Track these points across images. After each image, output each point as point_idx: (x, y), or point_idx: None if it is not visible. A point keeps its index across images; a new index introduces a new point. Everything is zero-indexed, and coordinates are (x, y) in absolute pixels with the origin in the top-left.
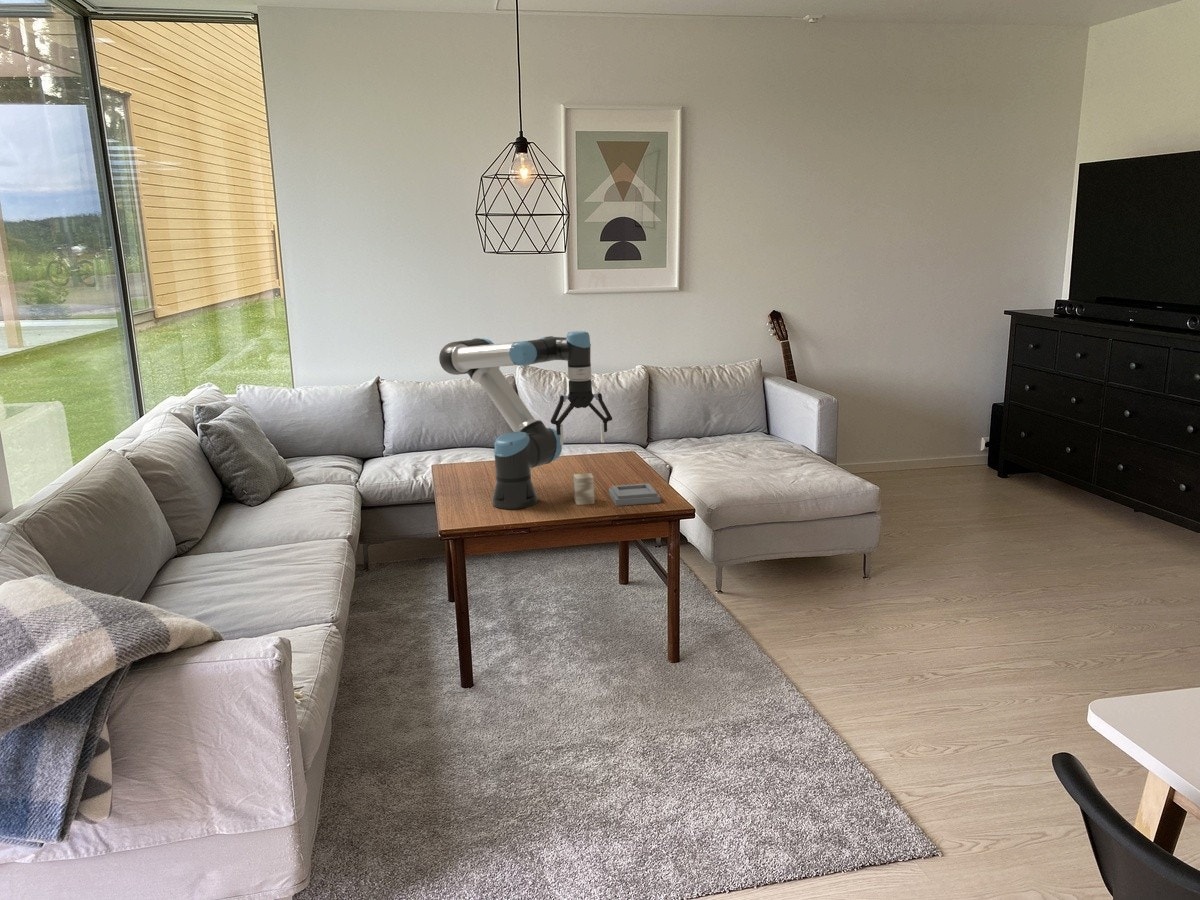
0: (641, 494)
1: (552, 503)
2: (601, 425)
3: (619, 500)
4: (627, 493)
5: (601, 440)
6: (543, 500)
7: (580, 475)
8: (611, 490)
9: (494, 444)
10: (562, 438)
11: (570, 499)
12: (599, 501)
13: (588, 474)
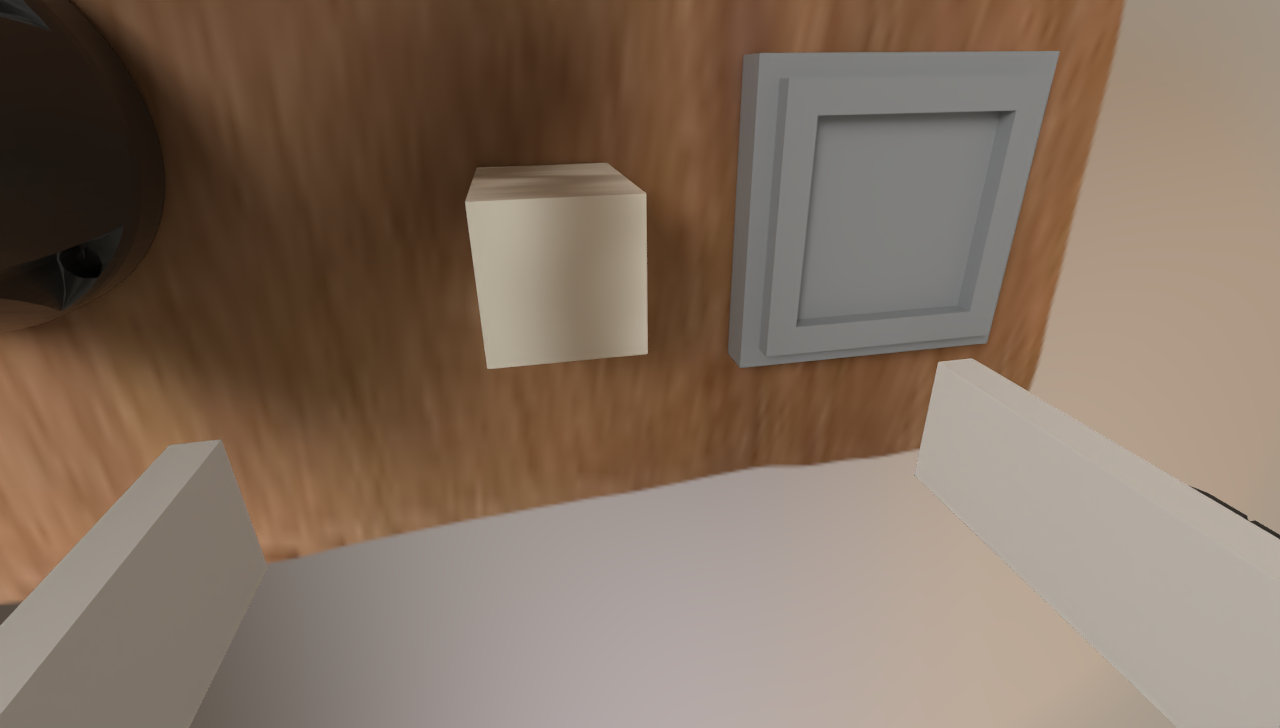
0: (903, 342)
1: (306, 210)
2: (1184, 709)
3: (760, 362)
4: (844, 237)
5: (940, 425)
6: (209, 103)
7: (536, 261)
8: (765, 129)
9: None
10: (194, 678)
11: (444, 127)
12: (649, 227)
13: (615, 240)
